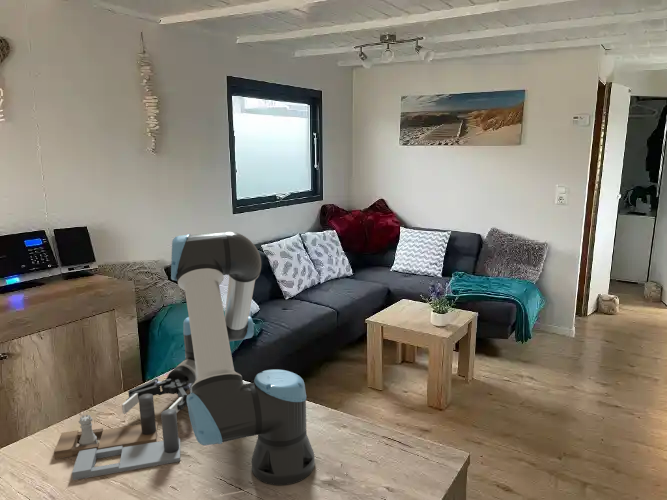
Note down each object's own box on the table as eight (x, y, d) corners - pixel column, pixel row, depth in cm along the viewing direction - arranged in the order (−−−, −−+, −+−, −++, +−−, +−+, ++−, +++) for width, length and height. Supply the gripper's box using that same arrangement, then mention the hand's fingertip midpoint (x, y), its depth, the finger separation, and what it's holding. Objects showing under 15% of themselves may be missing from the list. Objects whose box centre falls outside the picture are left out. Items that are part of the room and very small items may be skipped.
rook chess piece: (101, 440, 135) (98, 412, 133) (92, 450, 130) (88, 422, 129) (85, 439, 135) (82, 412, 133) (75, 449, 131) (71, 421, 129)
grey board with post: (180, 461, 125) (176, 420, 123) (72, 480, 118) (67, 437, 116) (180, 441, 133) (177, 402, 131) (80, 458, 127) (75, 417, 124)
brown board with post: (156, 442, 133) (152, 403, 131) (54, 459, 126) (49, 418, 124) (157, 424, 141) (154, 388, 139) (62, 439, 135) (57, 401, 133)
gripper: (222, 390, 155) (190, 428, 134) (147, 384, 159) (106, 420, 139) (221, 367, 153) (188, 402, 133) (145, 362, 158) (103, 394, 137)
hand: (146, 411), depth 136 cm, fingers open, 13 cm apart
